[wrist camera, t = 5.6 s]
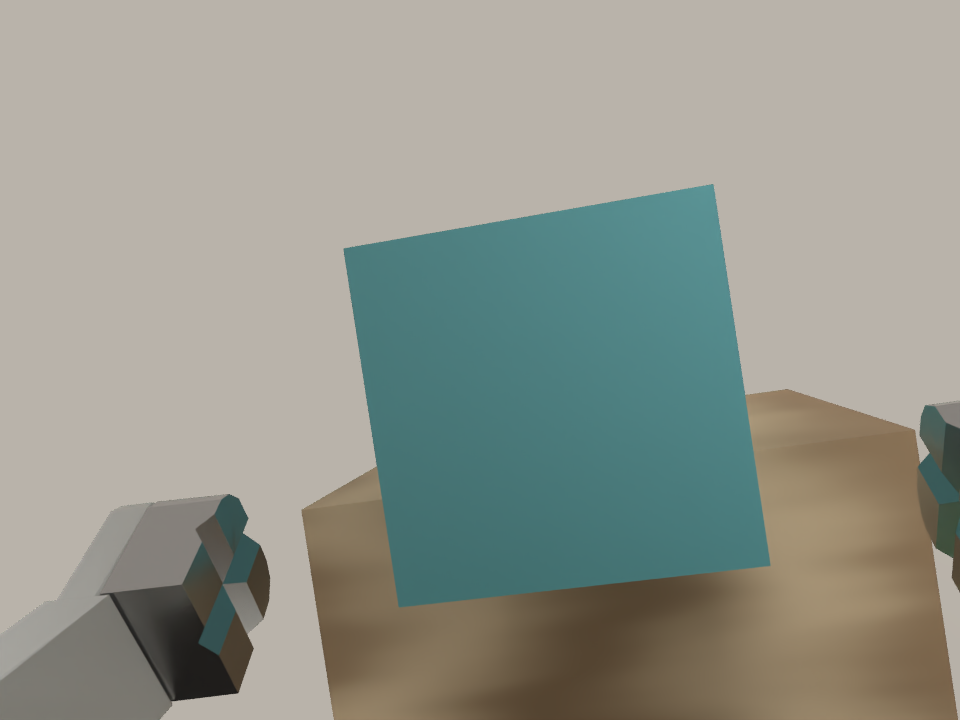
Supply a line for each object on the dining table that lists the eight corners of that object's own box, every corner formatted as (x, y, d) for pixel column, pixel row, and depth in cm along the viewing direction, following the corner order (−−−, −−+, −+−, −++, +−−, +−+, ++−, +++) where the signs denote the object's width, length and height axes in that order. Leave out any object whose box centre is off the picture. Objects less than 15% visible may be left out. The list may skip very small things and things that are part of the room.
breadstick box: (398, 607, 10) (343, 248, 10) (539, 423, 30) (521, 304, 30) (770, 566, 9) (713, 184, 9) (660, 406, 29) (642, 285, 29)
